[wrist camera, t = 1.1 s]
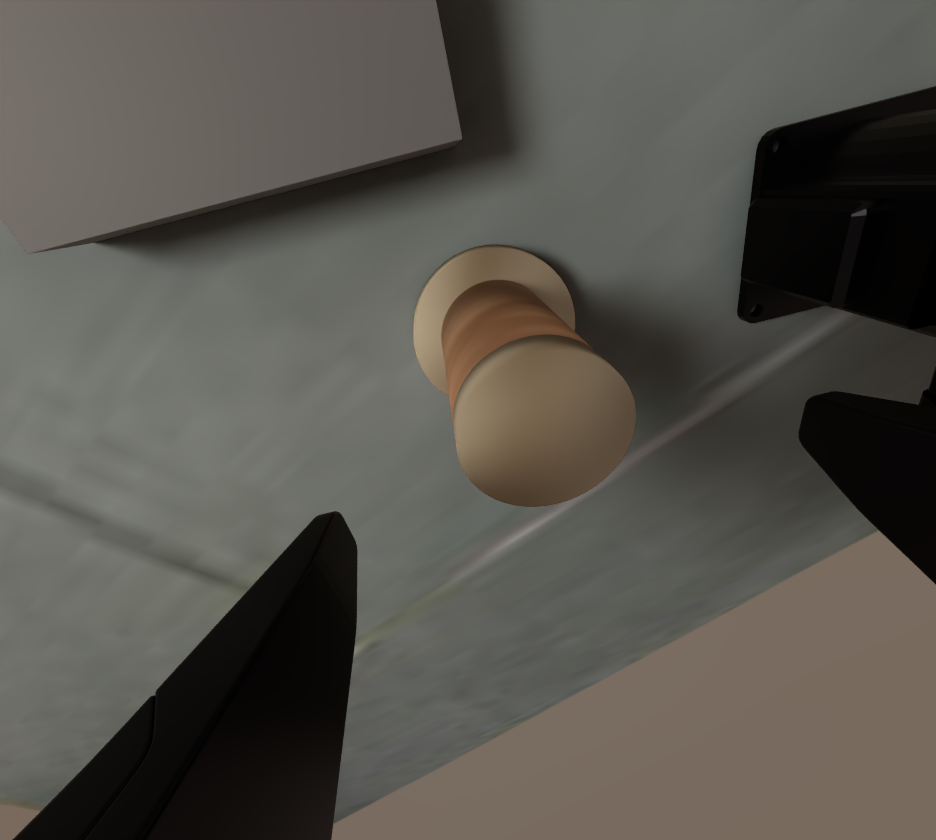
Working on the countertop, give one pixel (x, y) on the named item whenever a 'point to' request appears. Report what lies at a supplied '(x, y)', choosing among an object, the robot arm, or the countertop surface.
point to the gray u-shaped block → (205, 105)
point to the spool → (520, 378)
